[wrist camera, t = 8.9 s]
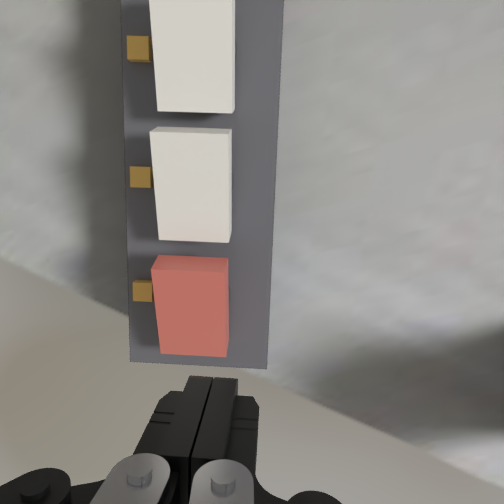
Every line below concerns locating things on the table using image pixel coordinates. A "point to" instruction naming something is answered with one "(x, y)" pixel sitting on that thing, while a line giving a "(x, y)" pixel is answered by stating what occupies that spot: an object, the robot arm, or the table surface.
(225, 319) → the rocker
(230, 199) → the block
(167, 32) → the rocker
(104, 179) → the table surface
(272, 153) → the switch panel
